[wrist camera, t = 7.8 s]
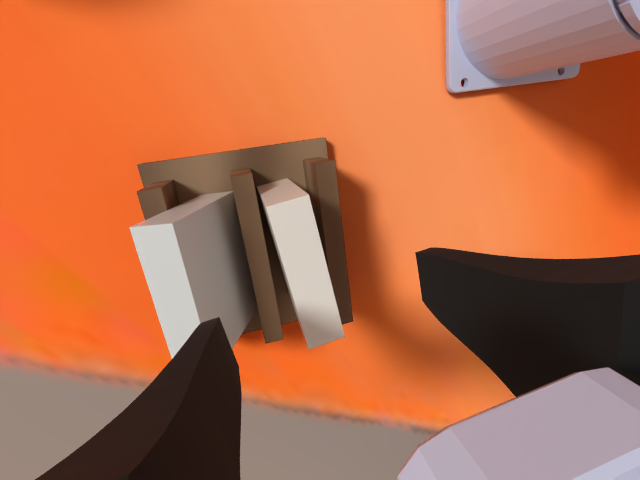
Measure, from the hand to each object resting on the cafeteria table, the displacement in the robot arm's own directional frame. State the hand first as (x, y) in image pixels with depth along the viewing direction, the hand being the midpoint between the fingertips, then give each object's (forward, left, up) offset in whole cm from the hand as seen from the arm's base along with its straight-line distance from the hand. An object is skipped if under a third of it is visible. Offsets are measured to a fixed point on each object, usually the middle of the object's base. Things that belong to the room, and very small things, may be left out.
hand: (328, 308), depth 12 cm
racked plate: (+3, 0, -9) cm, 9 cm away
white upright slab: (0, 0, -9) cm, 9 cm away
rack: (+2, 0, -10) cm, 10 cm away
